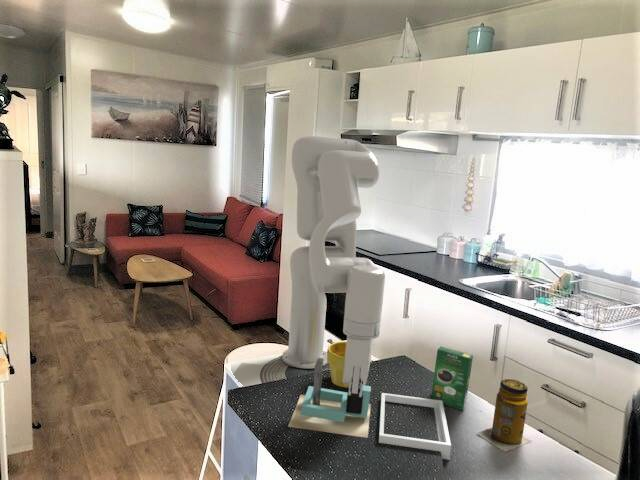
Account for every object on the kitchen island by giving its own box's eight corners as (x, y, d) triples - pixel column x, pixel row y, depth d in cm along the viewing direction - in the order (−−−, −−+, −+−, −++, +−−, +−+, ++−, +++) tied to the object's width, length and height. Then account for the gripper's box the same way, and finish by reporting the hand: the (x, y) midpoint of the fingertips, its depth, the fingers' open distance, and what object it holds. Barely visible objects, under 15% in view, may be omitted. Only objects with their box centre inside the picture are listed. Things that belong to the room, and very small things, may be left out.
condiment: (530, 441, 104) (539, 387, 102) (505, 452, 99) (513, 396, 97) (501, 424, 110) (508, 373, 108) (475, 434, 105) (482, 381, 103)
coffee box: (467, 406, 117) (474, 353, 115) (464, 411, 115) (470, 357, 112) (433, 396, 121) (439, 345, 119) (430, 401, 118) (436, 348, 116)
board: (300, 400, 114) (300, 394, 114) (370, 410, 112) (370, 403, 112) (287, 433, 101) (288, 426, 100) (367, 444, 99) (367, 437, 98)
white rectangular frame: (380, 404, 115) (381, 392, 114) (440, 413, 113) (442, 400, 113) (378, 449, 97) (379, 435, 97) (449, 459, 95) (451, 445, 95)
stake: (313, 406, 109) (317, 357, 107) (320, 407, 109) (324, 358, 107) (309, 417, 104) (313, 367, 103) (317, 418, 104) (321, 368, 102)
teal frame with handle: (307, 394, 111) (310, 369, 110) (368, 404, 110) (371, 379, 109) (300, 414, 103) (303, 387, 102) (365, 426, 101) (369, 399, 100)
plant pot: (368, 398, 118) (371, 359, 116) (324, 394, 118) (327, 355, 116) (365, 379, 128) (368, 342, 126) (325, 375, 128) (328, 339, 127)
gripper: (347, 311, 111) (340, 389, 114) (339, 337, 95) (331, 426, 98) (381, 315, 110) (373, 393, 113) (378, 342, 94) (370, 432, 97)
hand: (354, 408), depth 106 cm, fingers closed on teal frame with handle
